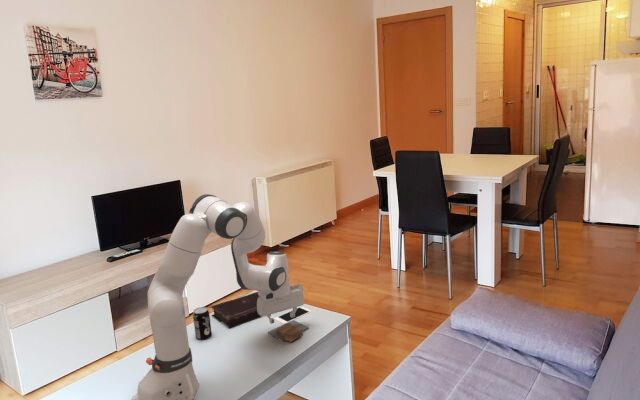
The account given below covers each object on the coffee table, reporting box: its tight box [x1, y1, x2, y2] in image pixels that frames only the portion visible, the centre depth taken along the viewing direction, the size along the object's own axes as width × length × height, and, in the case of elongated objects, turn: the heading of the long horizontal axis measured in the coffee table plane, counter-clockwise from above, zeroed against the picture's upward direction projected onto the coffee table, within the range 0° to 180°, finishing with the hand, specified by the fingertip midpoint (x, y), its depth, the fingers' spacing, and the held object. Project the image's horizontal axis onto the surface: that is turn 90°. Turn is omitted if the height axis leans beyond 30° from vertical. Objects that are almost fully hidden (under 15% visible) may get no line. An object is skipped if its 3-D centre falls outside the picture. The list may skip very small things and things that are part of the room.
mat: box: [267, 319, 310, 342], centre depth 214 cm, size 14×10×1 cm
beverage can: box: [192, 306, 213, 341], centre depth 213 cm, size 7×7×12 cm
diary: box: [210, 291, 262, 329], centre depth 233 cm, size 19×25×5 cm
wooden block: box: [276, 323, 304, 343], centre depth 208 cm, size 3×7×8 cm
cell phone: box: [273, 305, 313, 325], centre depth 228 cm, size 8×16×1 cm, turn 132°
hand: (282, 319), depth 213 cm, fingers open, 8 cm apart
